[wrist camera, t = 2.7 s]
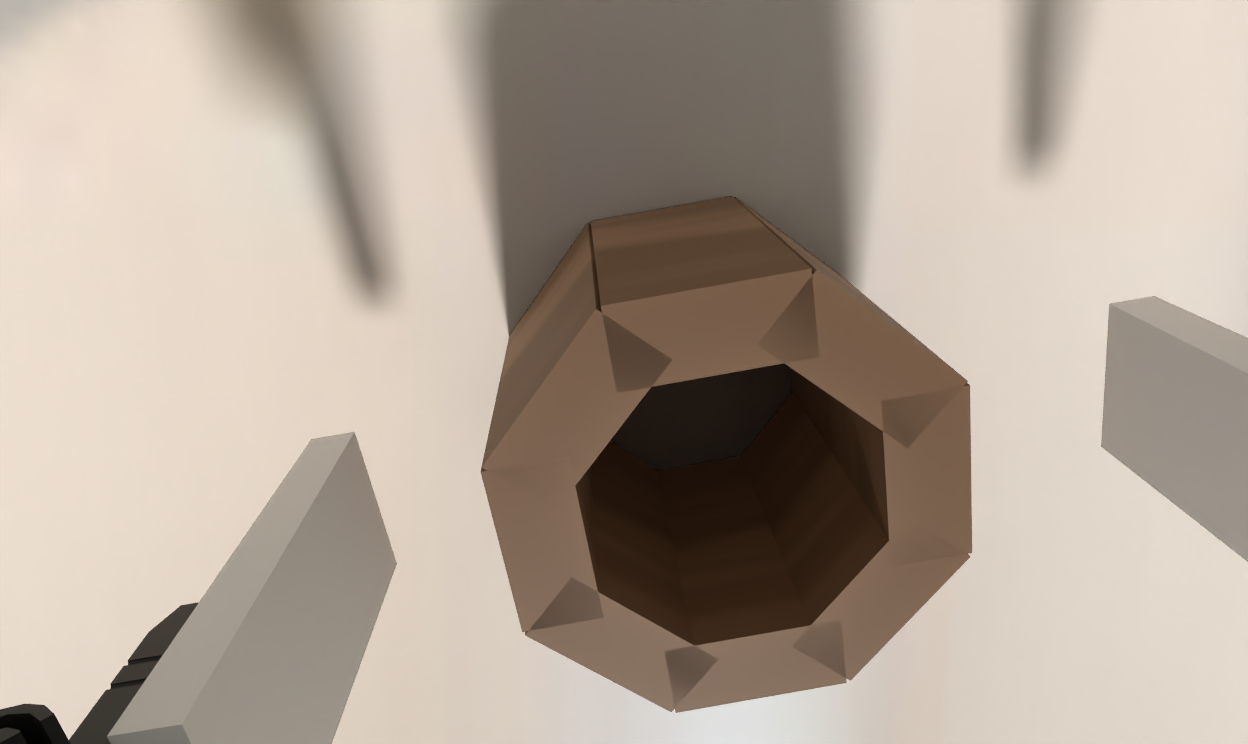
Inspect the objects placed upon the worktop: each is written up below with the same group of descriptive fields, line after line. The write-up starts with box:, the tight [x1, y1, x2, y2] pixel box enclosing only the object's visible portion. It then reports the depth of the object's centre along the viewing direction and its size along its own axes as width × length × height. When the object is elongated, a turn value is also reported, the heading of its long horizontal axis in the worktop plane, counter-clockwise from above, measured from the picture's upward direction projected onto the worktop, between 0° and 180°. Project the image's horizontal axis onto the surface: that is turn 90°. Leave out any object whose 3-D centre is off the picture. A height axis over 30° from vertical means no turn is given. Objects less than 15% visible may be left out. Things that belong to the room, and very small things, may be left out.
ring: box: [481, 196, 972, 713], centre depth 15 cm, size 7×7×6 cm
